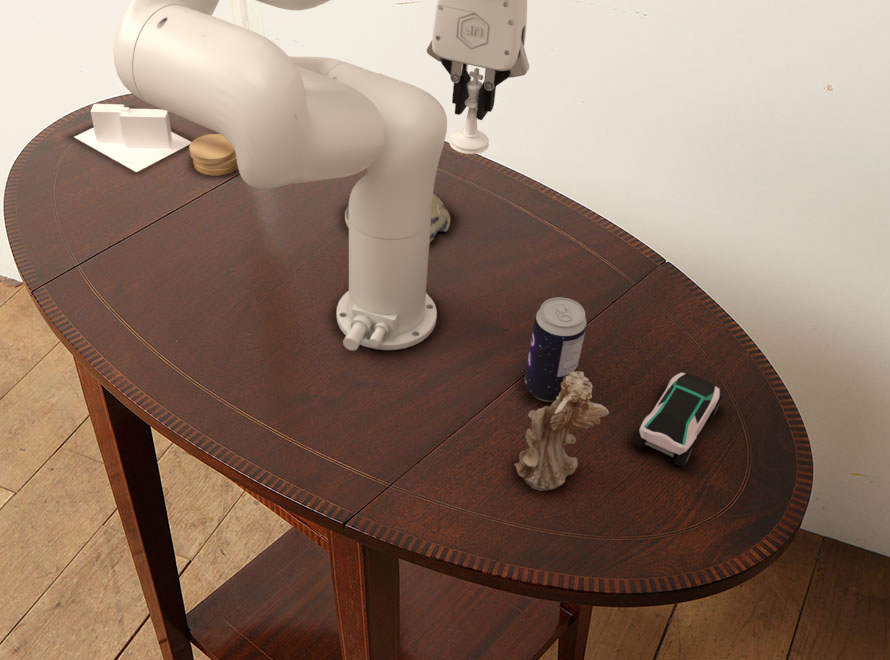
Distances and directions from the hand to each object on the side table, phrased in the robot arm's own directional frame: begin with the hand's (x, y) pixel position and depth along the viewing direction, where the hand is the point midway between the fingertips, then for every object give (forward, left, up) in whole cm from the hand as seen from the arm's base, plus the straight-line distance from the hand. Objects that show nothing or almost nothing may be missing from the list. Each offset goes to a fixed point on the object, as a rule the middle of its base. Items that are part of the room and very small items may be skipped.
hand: (472, 111), depth 120 cm
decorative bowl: (+4, +10, -21) cm, 24 cm away
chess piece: (0, 0, -5) cm, 5 cm away
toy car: (-23, -33, -21) cm, 45 cm away
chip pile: (+7, +40, -21) cm, 46 cm away
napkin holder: (+8, +55, -21) cm, 60 cm away
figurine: (-35, -21, -21) cm, 46 cm away
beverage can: (-22, -18, -21) cm, 35 cm away
